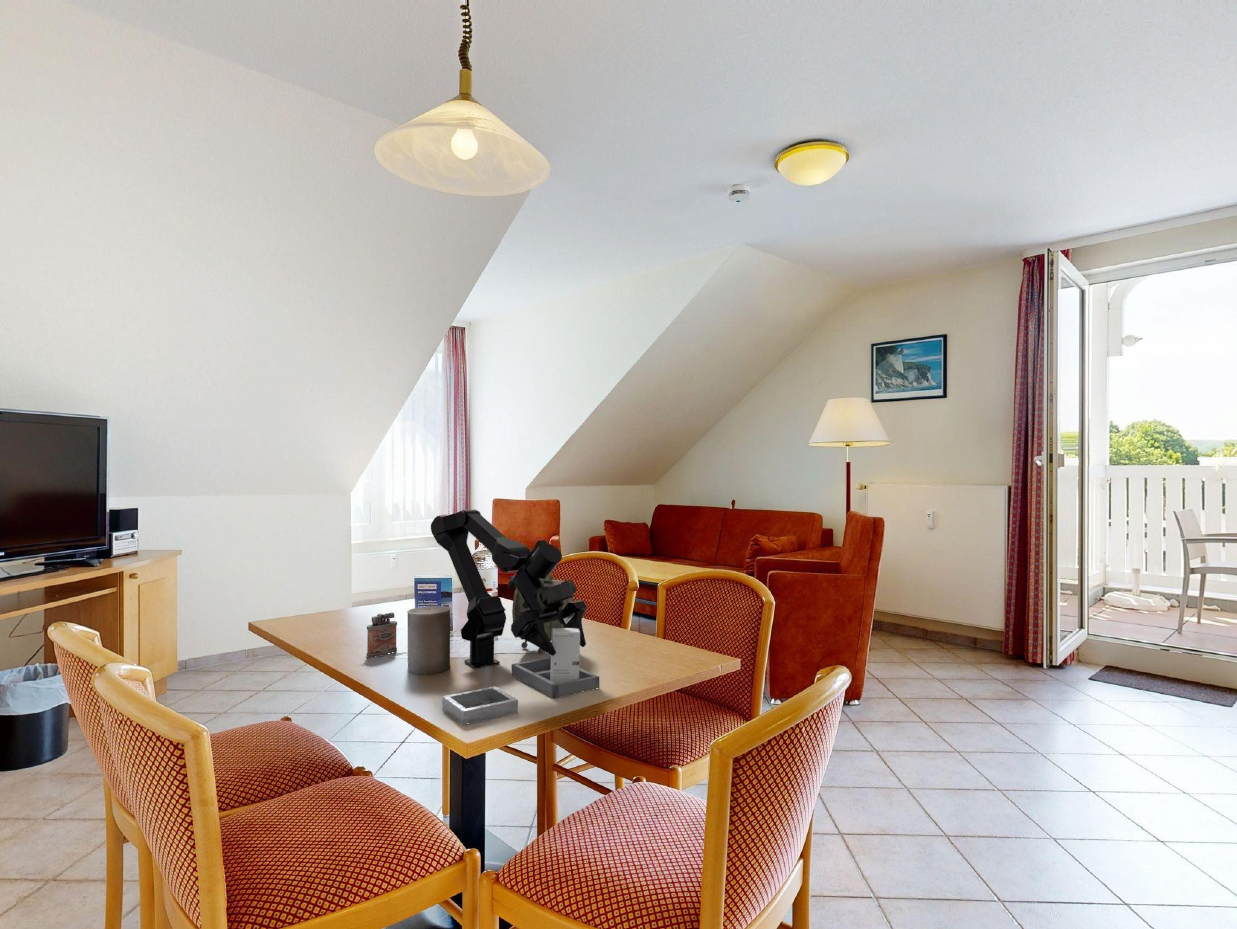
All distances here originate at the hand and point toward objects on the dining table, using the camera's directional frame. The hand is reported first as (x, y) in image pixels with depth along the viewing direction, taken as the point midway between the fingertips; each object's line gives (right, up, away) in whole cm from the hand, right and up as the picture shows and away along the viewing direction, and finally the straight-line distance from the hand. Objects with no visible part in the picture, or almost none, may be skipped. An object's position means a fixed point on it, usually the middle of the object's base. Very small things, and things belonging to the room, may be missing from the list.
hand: (569, 650), depth 144 cm
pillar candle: (-34, -8, +14) cm, 37 cm away
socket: (-16, -8, -14) cm, 23 cm away
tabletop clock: (-9, -9, +29) cm, 32 cm away
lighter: (-49, -8, +26) cm, 56 cm away
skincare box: (-1, -8, +1) cm, 8 cm away
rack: (-4, -8, +4) cm, 10 cm away
